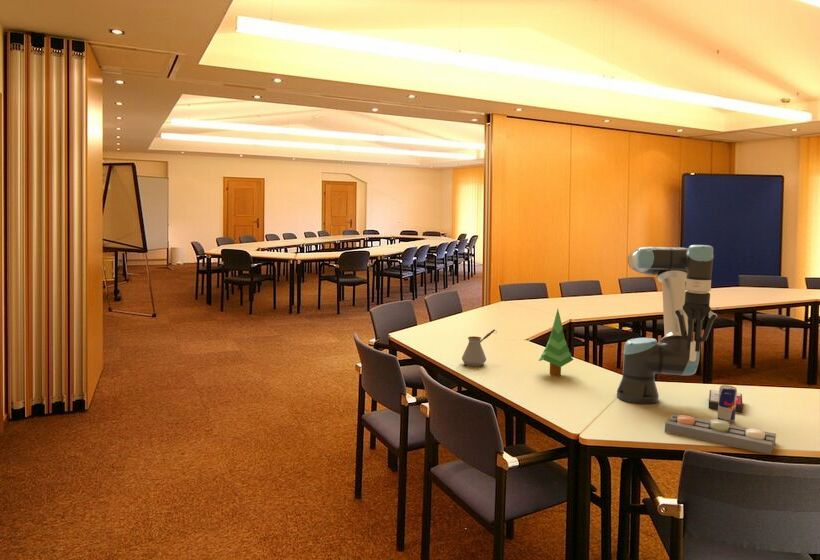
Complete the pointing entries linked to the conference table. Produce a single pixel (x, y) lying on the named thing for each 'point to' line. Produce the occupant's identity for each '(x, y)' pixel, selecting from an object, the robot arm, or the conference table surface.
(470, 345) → the coffee pot
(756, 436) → the white button
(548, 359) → the decorative tree
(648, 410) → the conference table surface
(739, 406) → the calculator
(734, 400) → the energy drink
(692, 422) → the terracotta button
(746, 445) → the button panel
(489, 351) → the conference table surface
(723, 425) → the sage button
